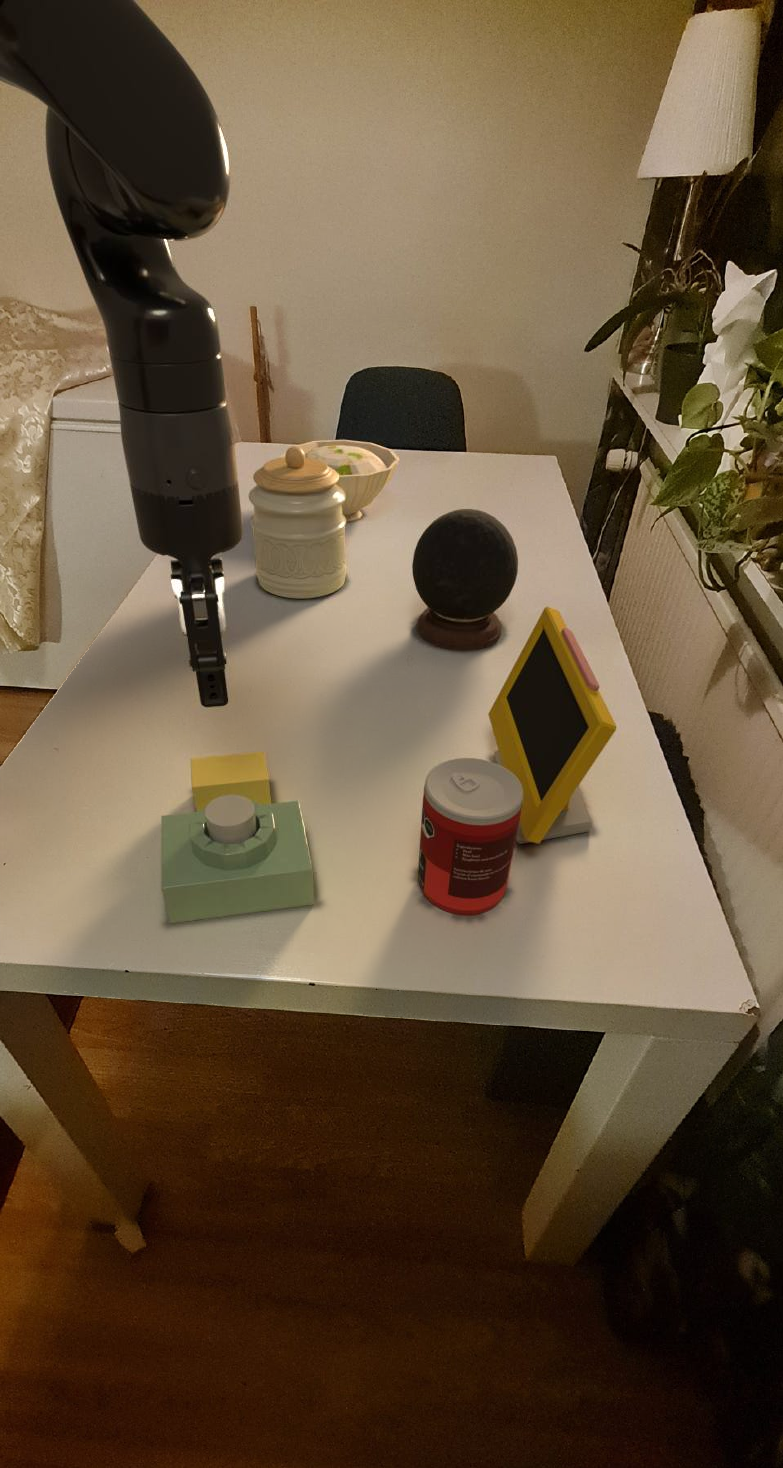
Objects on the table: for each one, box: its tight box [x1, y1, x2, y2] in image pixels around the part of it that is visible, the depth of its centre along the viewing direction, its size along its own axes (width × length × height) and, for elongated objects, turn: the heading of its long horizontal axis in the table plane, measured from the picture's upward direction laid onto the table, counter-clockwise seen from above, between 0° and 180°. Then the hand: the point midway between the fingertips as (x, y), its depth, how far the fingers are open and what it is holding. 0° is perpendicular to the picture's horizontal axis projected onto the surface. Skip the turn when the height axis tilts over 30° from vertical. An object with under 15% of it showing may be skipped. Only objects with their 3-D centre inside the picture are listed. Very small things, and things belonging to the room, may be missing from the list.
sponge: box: [190, 750, 272, 812], centre depth 74 cm, size 7×4×4 cm, turn 102°
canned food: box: [417, 757, 523, 916], centre depth 64 cm, size 8×8×11 cm
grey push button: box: [205, 795, 257, 845], centre depth 63 cm, size 4×4×2 cm
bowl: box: [280, 439, 401, 523], centre depth 127 cm, size 19×19×10 cm
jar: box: [248, 445, 348, 599], centre depth 105 cm, size 13×13×18 cm
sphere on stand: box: [411, 508, 519, 652], centre depth 97 cm, size 13×13×15 cm
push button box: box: [160, 800, 315, 924], centre depth 66 cm, size 12×9×6 cm
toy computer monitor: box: [487, 606, 618, 845], centre depth 71 cm, size 20×8×16 cm, turn 4°
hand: (212, 677), depth 65 cm, fingers open, 8 cm apart
